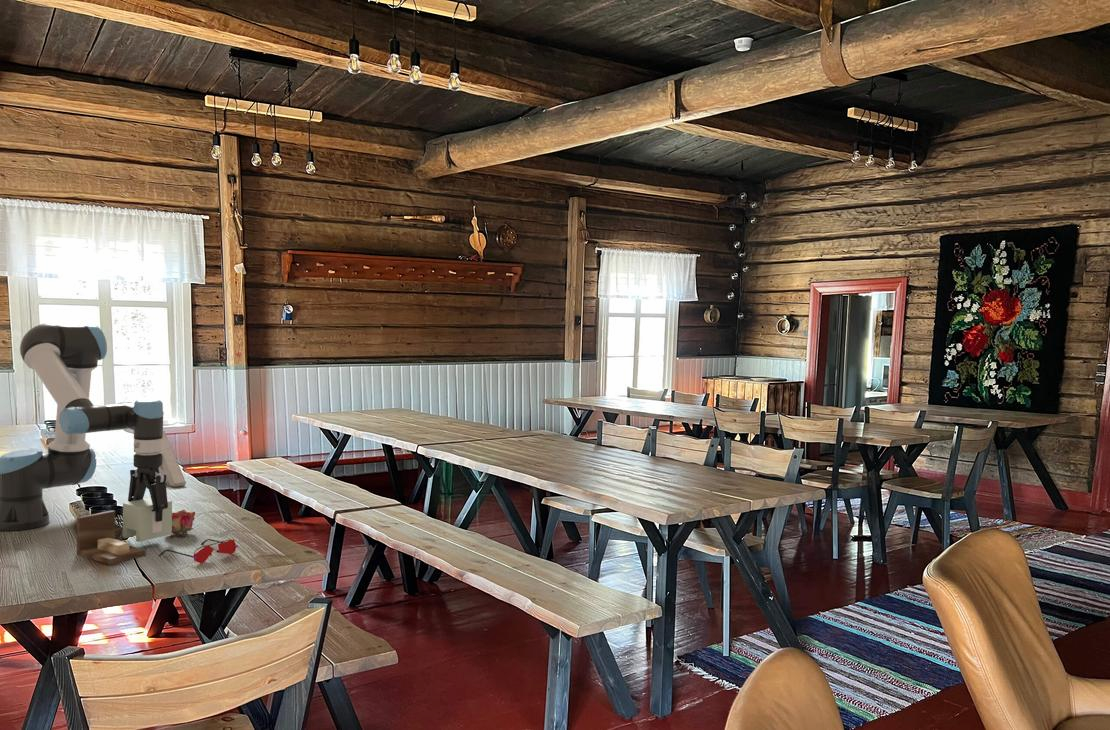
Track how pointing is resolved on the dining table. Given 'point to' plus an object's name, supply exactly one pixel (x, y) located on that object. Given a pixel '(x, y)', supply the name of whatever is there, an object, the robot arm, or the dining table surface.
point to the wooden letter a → (170, 465)
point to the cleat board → (99, 532)
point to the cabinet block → (144, 520)
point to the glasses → (210, 550)
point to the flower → (182, 522)
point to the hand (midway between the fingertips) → (147, 529)
